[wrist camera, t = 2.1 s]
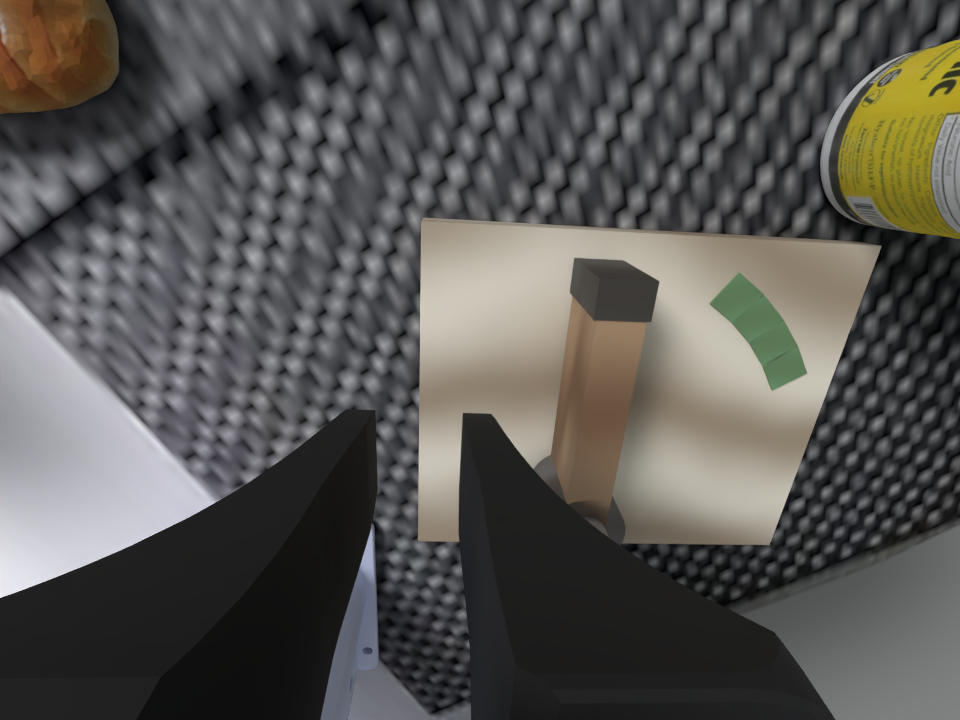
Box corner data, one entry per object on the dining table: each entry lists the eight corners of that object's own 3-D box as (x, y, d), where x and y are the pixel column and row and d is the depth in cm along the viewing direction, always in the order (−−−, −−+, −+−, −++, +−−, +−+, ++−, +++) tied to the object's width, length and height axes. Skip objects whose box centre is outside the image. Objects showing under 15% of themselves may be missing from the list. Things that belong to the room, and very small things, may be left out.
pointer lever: (595, 510, 20) (621, 575, 17) (525, 509, 20) (538, 575, 17) (642, 261, 16) (688, 285, 13) (554, 256, 16) (579, 280, 13)
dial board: (756, 529, 23) (770, 546, 22) (419, 524, 22) (418, 542, 21) (859, 241, 17) (883, 246, 16) (423, 217, 16) (421, 221, 15)
